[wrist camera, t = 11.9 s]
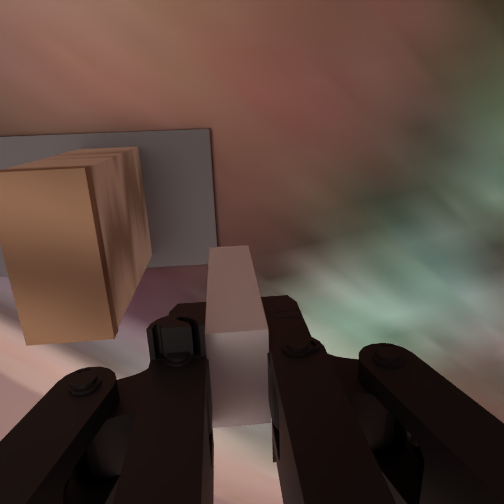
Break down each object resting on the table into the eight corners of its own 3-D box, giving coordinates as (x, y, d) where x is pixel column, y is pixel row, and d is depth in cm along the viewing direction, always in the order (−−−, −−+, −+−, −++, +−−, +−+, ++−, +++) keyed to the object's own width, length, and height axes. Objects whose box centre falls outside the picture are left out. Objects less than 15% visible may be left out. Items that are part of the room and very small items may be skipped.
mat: (-87, 140, 27) (-93, 140, 27) (209, 128, 29) (209, 128, 28) (-46, 276, 31) (-51, 279, 30) (218, 260, 32) (218, 263, 31)
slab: (78, 148, 28) (-18, 173, 17) (138, 145, 28) (84, 167, 17) (98, 258, 31) (26, 345, 19) (153, 255, 31) (114, 338, 19)
